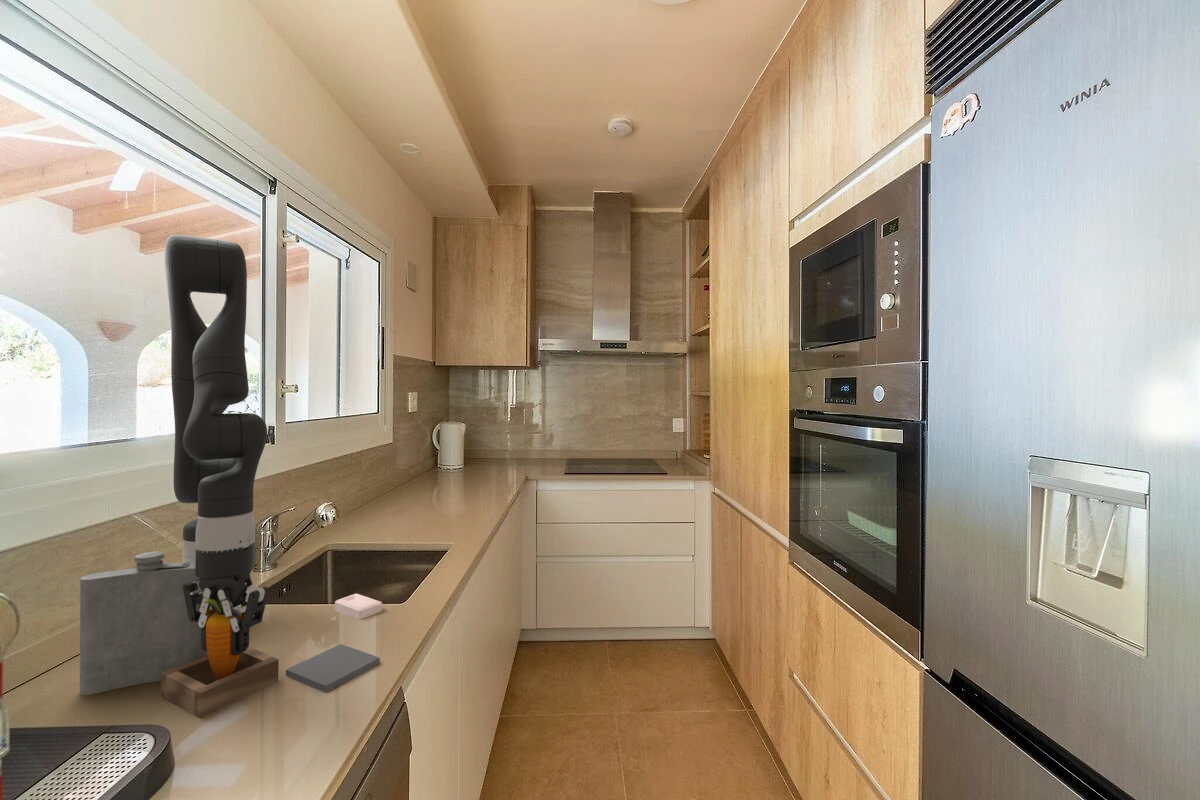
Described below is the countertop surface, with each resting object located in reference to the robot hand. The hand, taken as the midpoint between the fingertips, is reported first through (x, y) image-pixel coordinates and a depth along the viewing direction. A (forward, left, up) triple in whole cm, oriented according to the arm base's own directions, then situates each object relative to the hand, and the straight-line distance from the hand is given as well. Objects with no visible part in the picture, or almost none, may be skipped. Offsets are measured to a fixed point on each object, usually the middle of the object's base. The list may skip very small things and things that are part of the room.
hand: (225, 650), depth 82 cm
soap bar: (-7, +29, -6) cm, 31 cm away
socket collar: (0, -1, -6) cm, 6 cm away
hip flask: (-13, -5, -6) cm, 15 cm away
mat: (+10, +11, -6) cm, 16 cm away
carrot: (0, 0, -6) cm, 6 cm away
